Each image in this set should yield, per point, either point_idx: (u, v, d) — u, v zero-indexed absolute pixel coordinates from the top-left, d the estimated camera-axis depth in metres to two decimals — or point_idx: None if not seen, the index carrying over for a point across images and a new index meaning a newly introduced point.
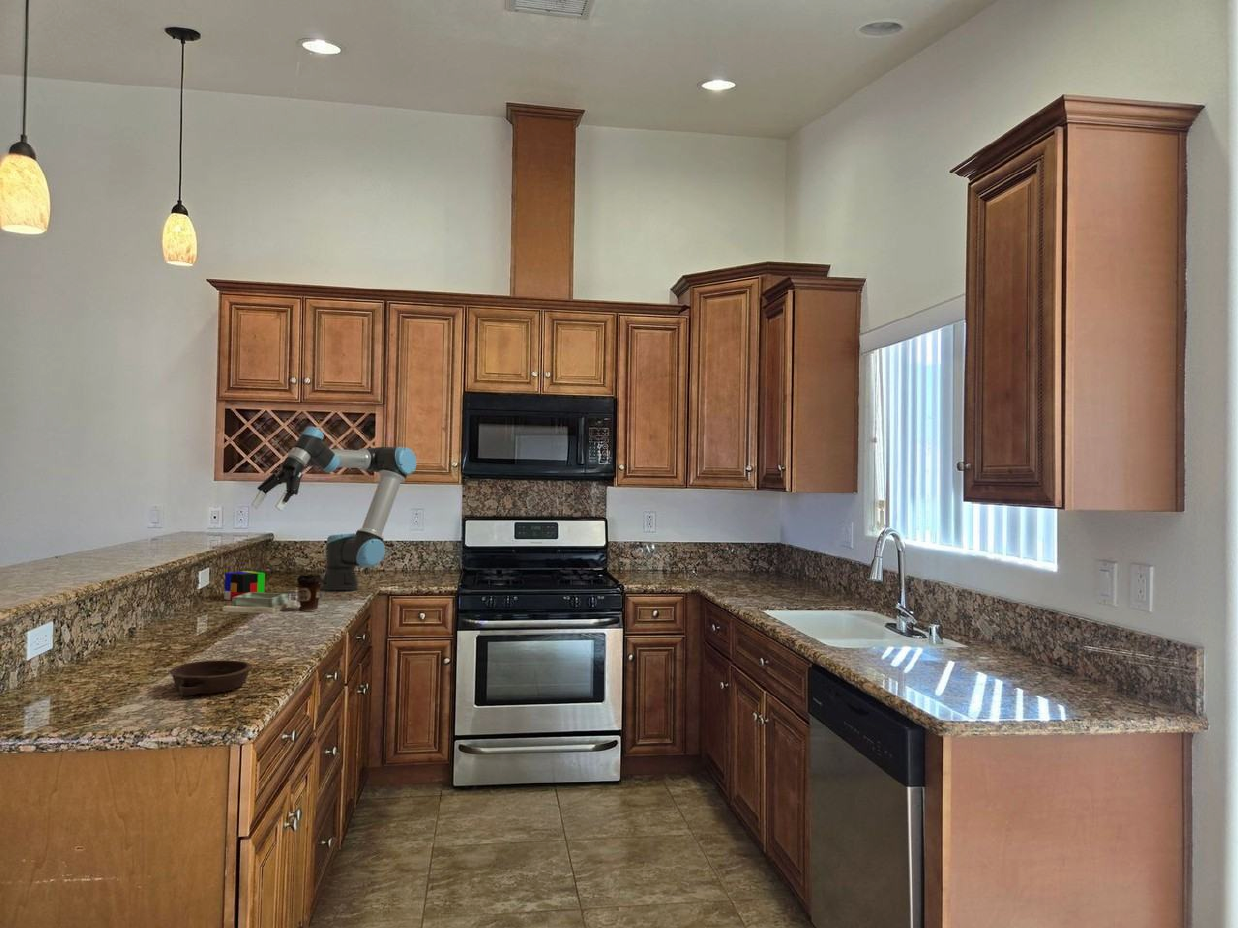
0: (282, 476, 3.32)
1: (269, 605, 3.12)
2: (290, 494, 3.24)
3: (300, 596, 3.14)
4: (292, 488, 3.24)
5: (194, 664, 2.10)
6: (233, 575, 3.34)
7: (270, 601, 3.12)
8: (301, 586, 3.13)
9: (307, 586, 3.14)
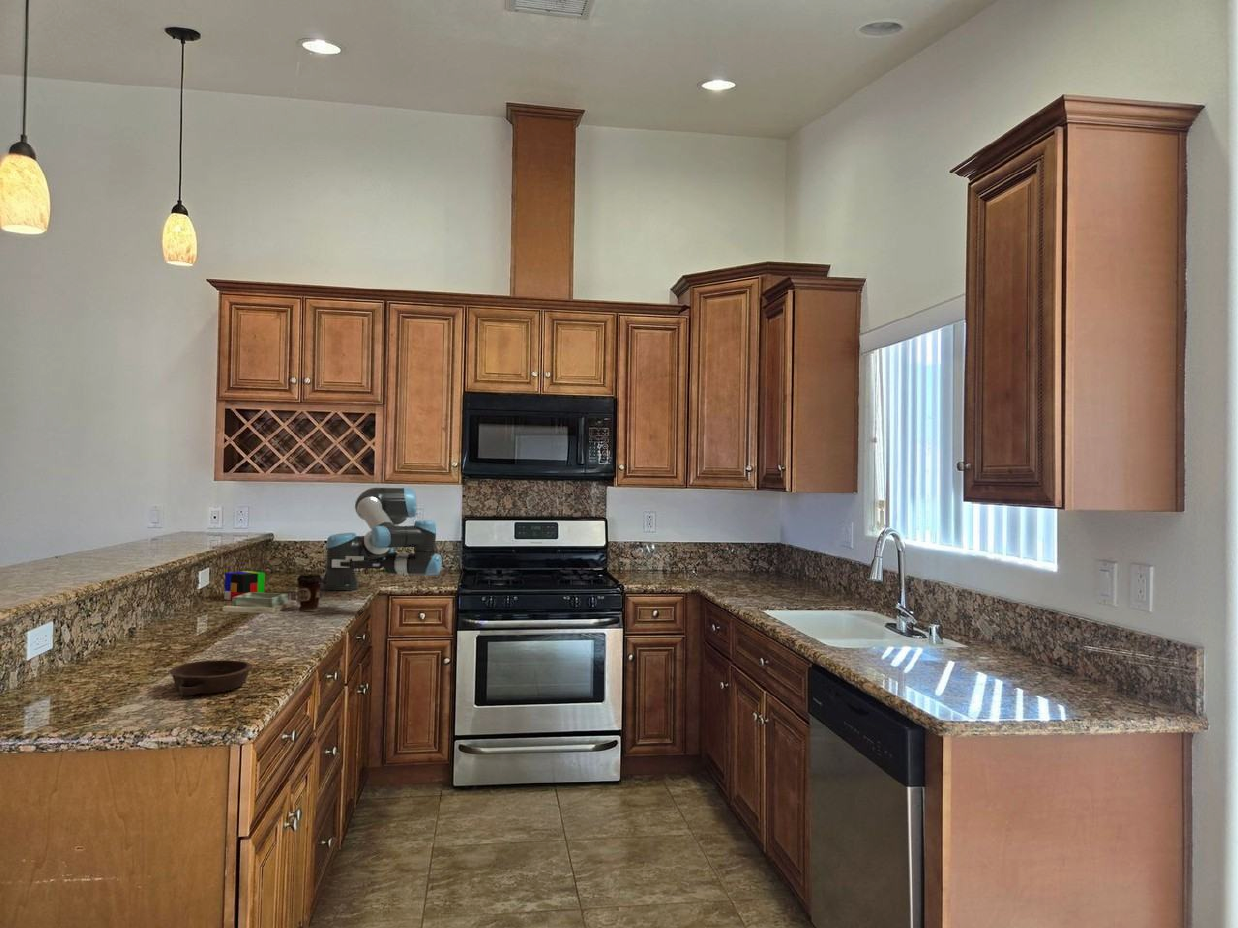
0: None
1: (269, 605, 3.12)
2: None
3: (300, 596, 3.14)
4: None
5: (194, 664, 2.10)
6: (233, 575, 3.34)
7: (270, 601, 3.12)
8: (301, 586, 3.13)
9: (307, 586, 3.14)
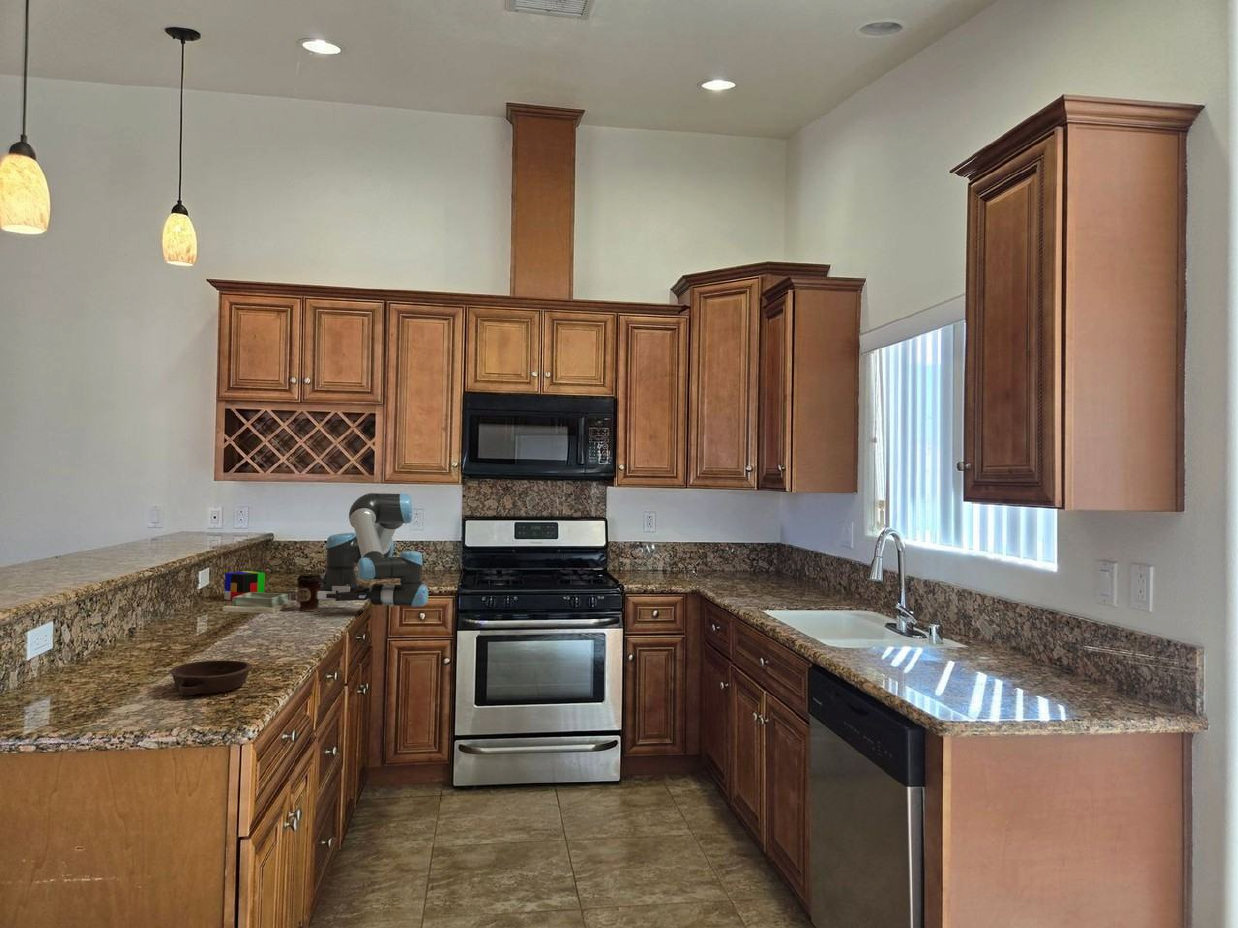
0: None
1: (269, 605, 3.12)
2: None
3: (300, 596, 3.14)
4: None
5: (194, 664, 2.11)
6: (233, 575, 3.34)
7: (270, 601, 3.12)
8: (301, 586, 3.13)
9: (307, 586, 3.14)
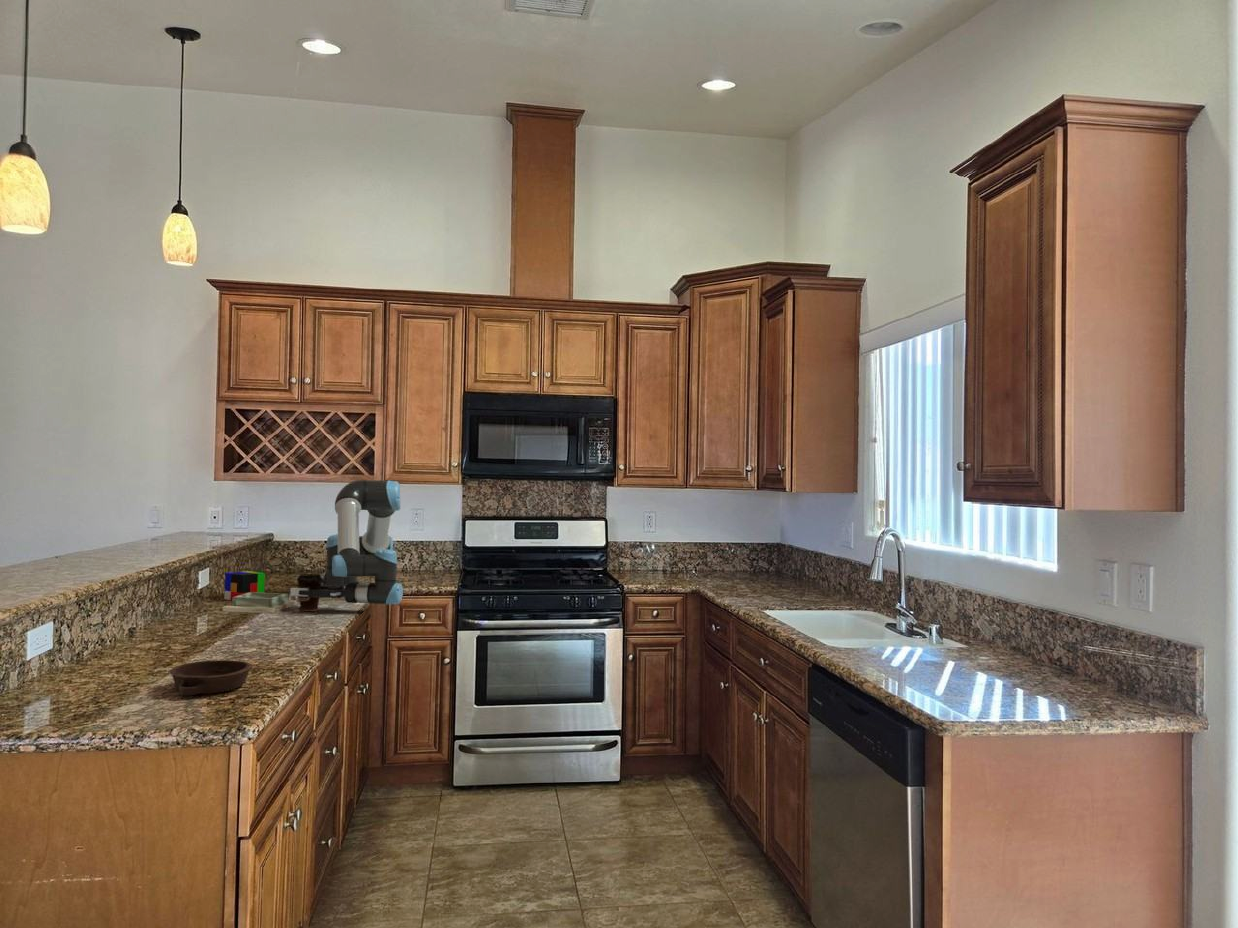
0: None
1: (269, 605, 3.12)
2: None
3: (300, 596, 3.14)
4: None
5: (194, 664, 2.10)
6: (233, 575, 3.34)
7: (270, 601, 3.12)
8: (301, 586, 3.13)
9: (307, 586, 3.14)
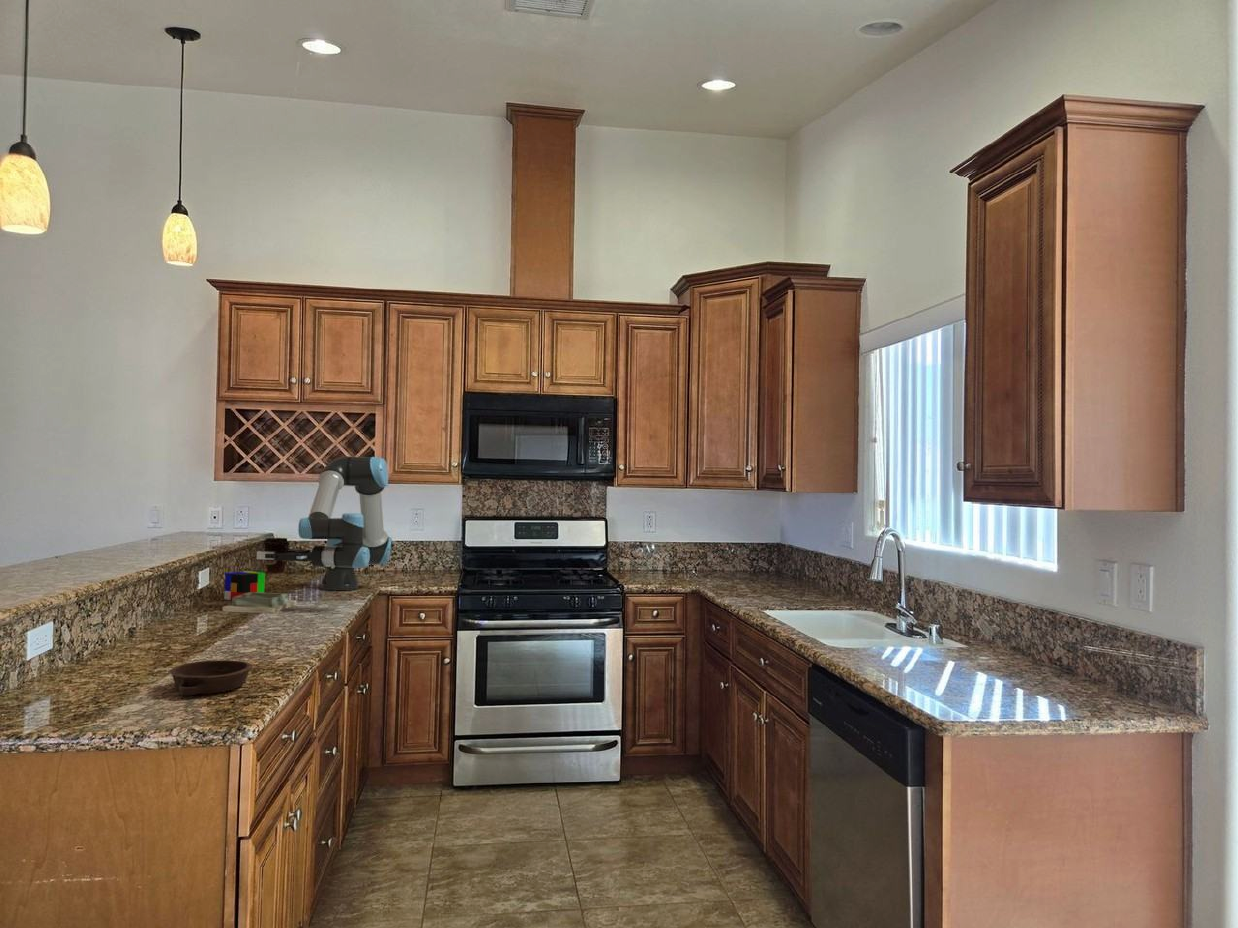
0: None
1: (269, 605, 3.12)
2: None
3: (266, 560, 3.14)
4: None
5: (194, 664, 2.11)
6: (233, 575, 3.34)
7: (270, 601, 3.12)
8: (267, 550, 3.14)
9: (273, 550, 3.14)
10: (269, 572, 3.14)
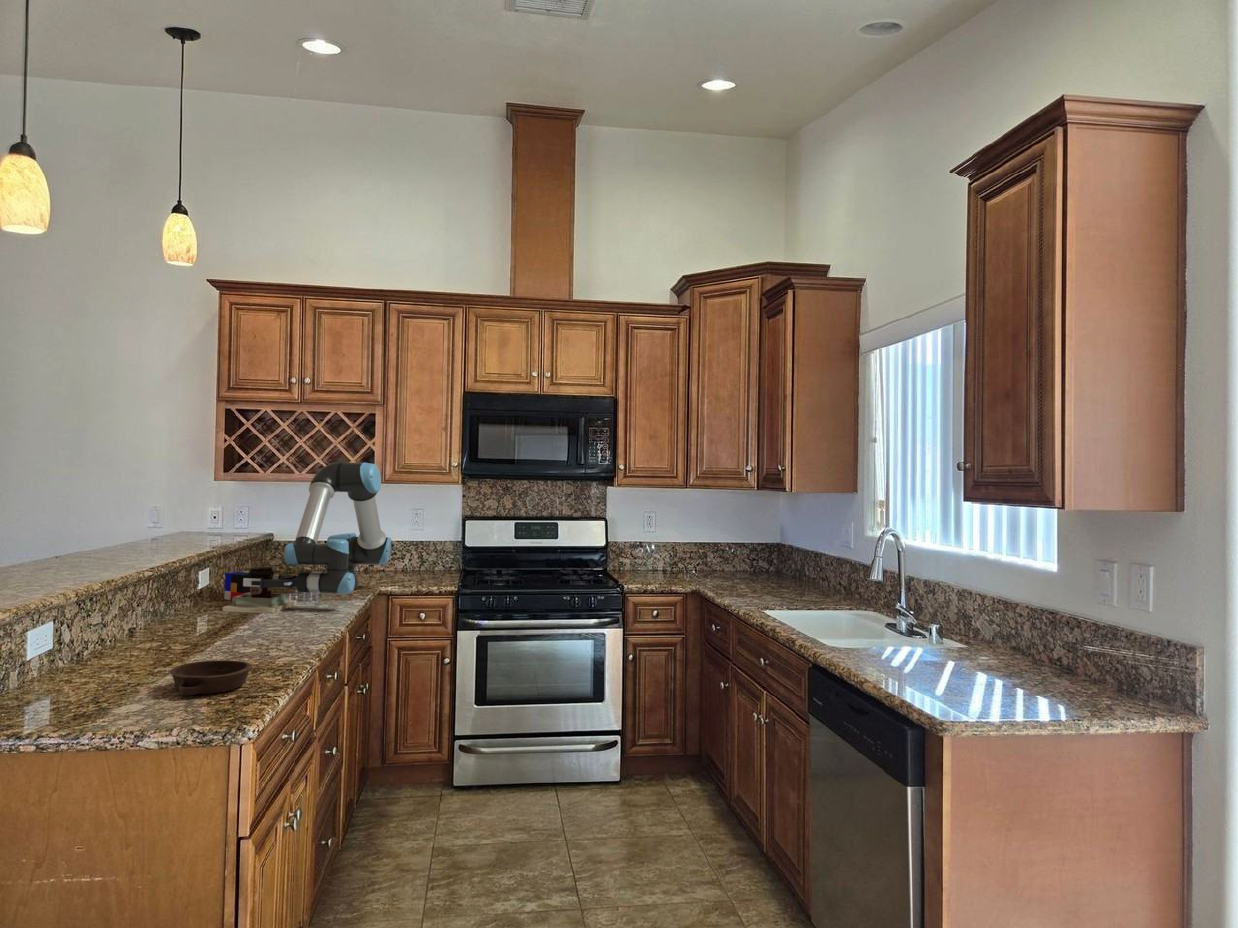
0: None
1: (269, 605, 3.12)
2: None
3: (251, 589, 3.16)
4: None
5: (194, 664, 2.11)
6: (233, 575, 3.34)
7: (270, 601, 3.12)
8: None
9: None
10: None
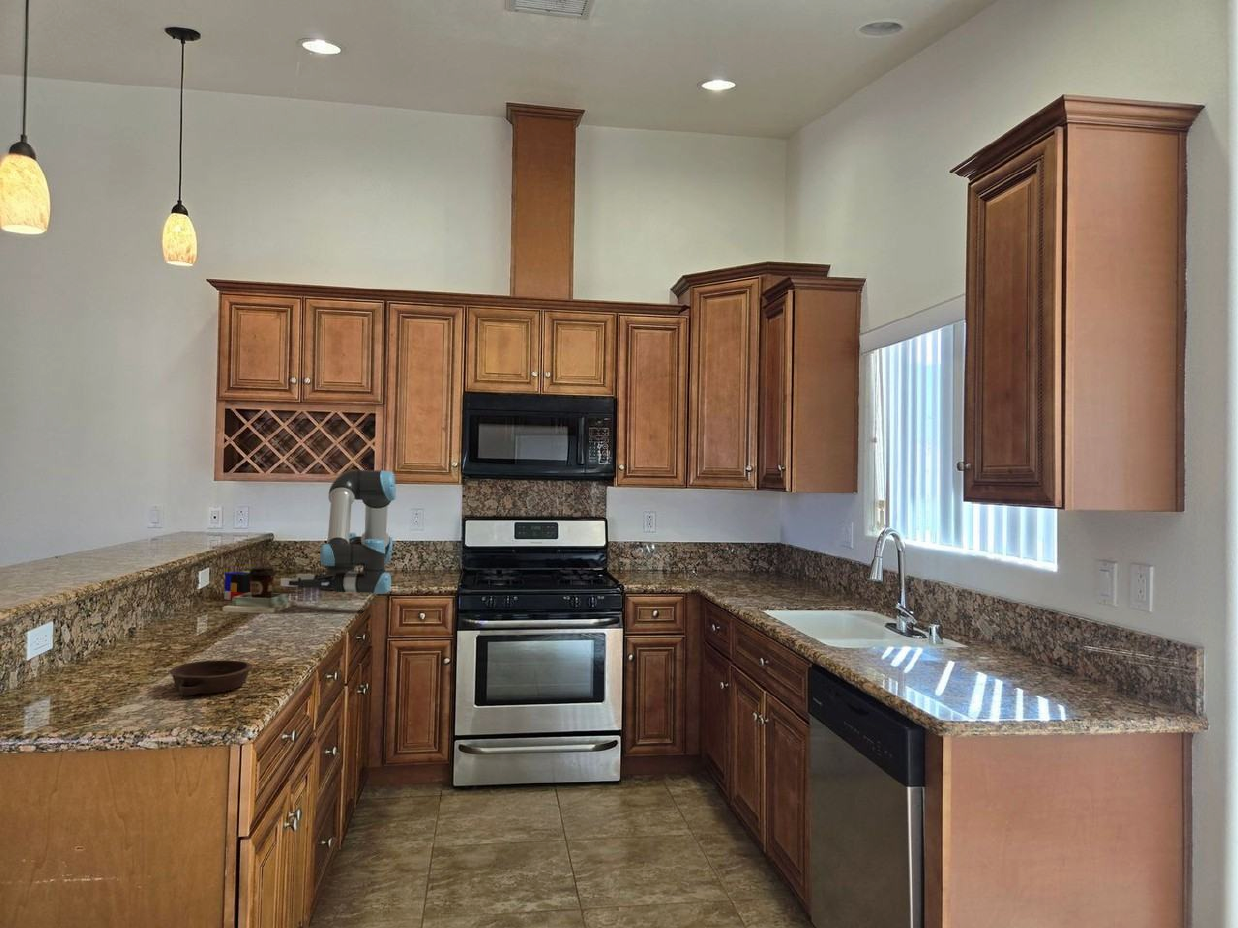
0: None
1: (269, 605, 3.12)
2: None
3: (252, 589, 3.16)
4: None
5: (194, 664, 2.11)
6: (233, 575, 3.34)
7: (270, 601, 3.12)
8: (253, 579, 3.15)
9: (259, 580, 3.15)
10: None
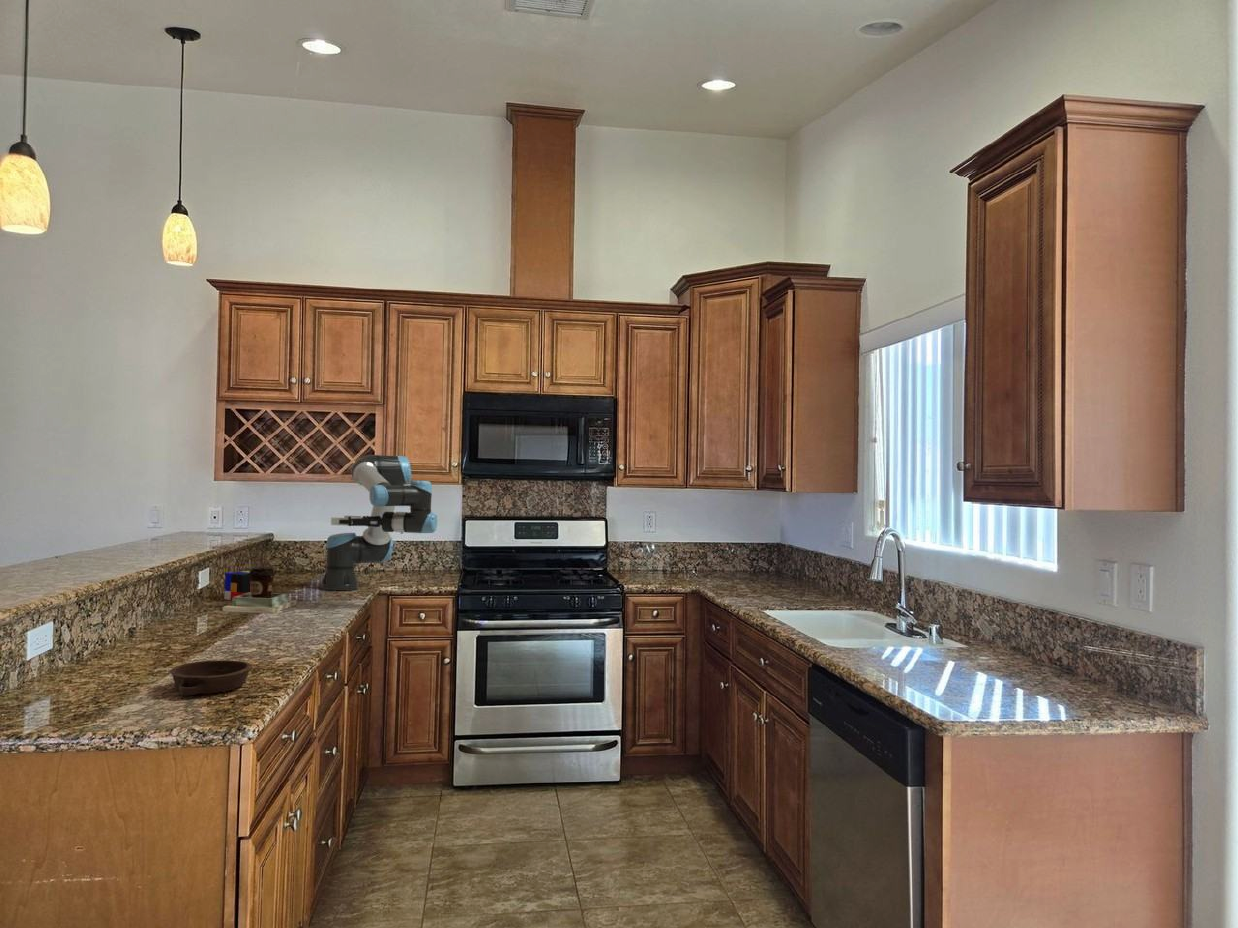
0: None
1: (269, 605, 3.12)
2: None
3: (252, 589, 3.16)
4: None
5: (194, 664, 2.11)
6: (233, 575, 3.34)
7: (270, 601, 3.12)
8: (253, 580, 3.15)
9: (259, 580, 3.15)
10: None
